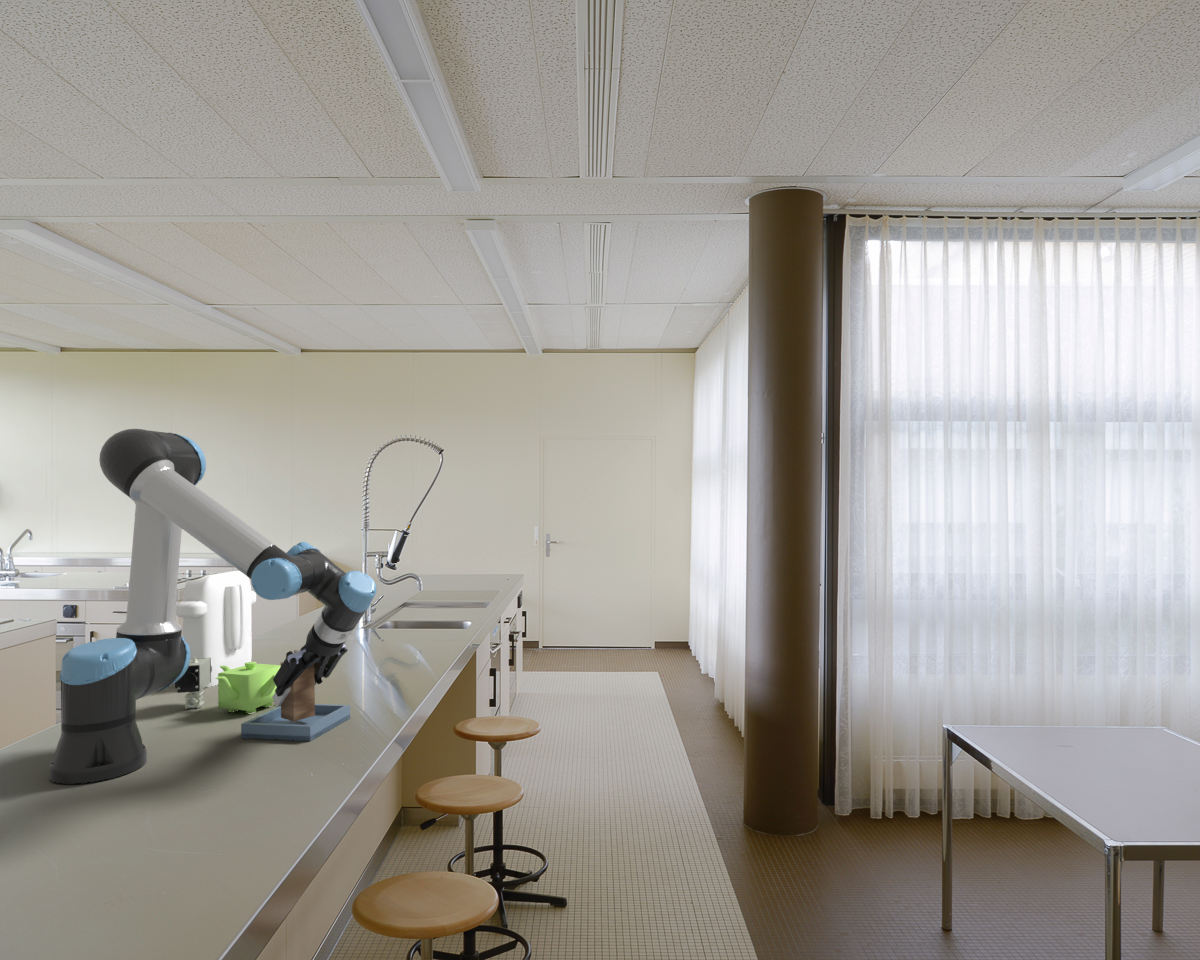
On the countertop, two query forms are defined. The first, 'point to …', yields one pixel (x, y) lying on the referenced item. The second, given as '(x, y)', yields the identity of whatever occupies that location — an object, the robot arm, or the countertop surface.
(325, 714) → the tray
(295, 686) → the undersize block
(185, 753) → the countertop surface
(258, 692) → the kettle
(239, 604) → the toaster
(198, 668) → the pneumatic valve
